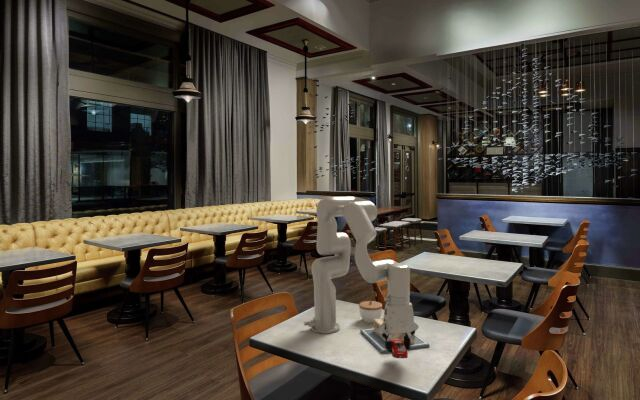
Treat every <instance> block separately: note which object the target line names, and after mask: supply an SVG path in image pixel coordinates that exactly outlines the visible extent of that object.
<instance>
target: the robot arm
mask: <svg viewBox="0 0 640 400" xmlns="http://www.w3.org/2000/svg"><path fill="white" fill-rule="evenodd" d="M377 216H378V209H377V206H376V205H375V203H374V202H372V201H371V200H368V199H365V198H361V197H357V196H352V195H351V196H350V195H347V196H346V195H345V196H343V195H342V196H338V195H337V196H327V197H323V198H322V199H320V200H319V202H318V203H317V205H316V220H317V230H316V232H317V233H316V246H315V247H316V251H317V254H318V255H321V256H323V257H319V258H316V259H315V260H314V261H312V263H311V273H312V274H311V275H312V279H313V296H314V297H313V301H314V303H313V305H314V308H313V309H314V310H313V311H314V317H312V319H310V320H305V321H303V326H308V327H309V328H310V329H311V331H312V332H314V333H316V334H333V333H337V332H338V331H339V330H340V328H341V326H340V323H337V300H336V299H337V298H336V297H337V296H336V294H337V290H336V286H335V284H334V282H333V281H332V279H334V278H341V277H343V276H346V275H347V274H348V272H349V270H350V261H351V251H352V250H351V249H352V243H351V238H350V237H349V234H347V233H346V232H342V231H338V223H337V220H336V218H337V217H344V219H345V222H346V223H347V225H348V227H349V229H350V231H351V234H352V235H353V238H354V239H355V246H354V262H355V265H356V266H357V270H358V272H359V273H360V275H361V277H362V278H363V279H364V280H365V282H367V283H369V284H376V283H381V282H387V295H386V296H385V297H383V301H384V302H386V303H385V306H384V311H383V323H382V324H381V326H380V327H379V328H378V329H377V331H378V332H379V333H380V334H381V335H382V336H383V337H384V338H385V348H386V349H387V350H388V351H389V352H392V341H391V337H392V335H393V334H402V333H405V336H404V345H405V347H406V349H407V351H411V350H410V339H411V338H412V336H413V334H414V333H415V334H416V331H417V330H418V329H419V328H420V326H419V325H418V324H417V323H416V322H415V317H414V314H415V313H414V308H413V304H412V302H410V296H411V293H410V291H411V287H410V286H411V269H410V268H411V267H410V266H409V265H408V264H405V263H400V262H397V261H395V260H393V259H390V258H387V259H379V260H373V261H372V259H371V258H370V255H369V253H368V248H367V247H368V244H370V242H372V241H373V240H374V239H375V238H376V236H377V230H376V228H375V226H374V225H373V223H372V222H373V221H374V220H376V219H377V218H378V217H377ZM337 231H338V232H337ZM384 329H385V330H386V333H384V332H383V330H384Z"/></svg>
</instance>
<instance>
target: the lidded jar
mask: <svg viewBox="0 0 640 400" xmlns="http://www.w3.org/2000/svg"><path fill="white" fill-rule="evenodd" d="M358 310H359V314H360V317H361V318H362V320H363V321H364V322H365V323H368V324H373V319H381V316H382V314H383V304H382V303H381V302H379V301H375V300H365V301H361V302H360V303H359V309H358Z"/></svg>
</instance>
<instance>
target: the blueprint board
mask: <svg viewBox="0 0 640 400" xmlns="http://www.w3.org/2000/svg"><path fill="white" fill-rule="evenodd" d="M383 318H384V317H383ZM383 318H381V317H380V319H373V323H372V324H373V325H372V326H373V328H369V329H360V331H359V332H360V334H362V336H364V338H365V339H366V340H367V341H369V342H370V343H371V344H372V345H373V346H374V347H375V348H376V349H377V350H378V351H379V352H380V353H381V354H382V355H383V354H390V353H391V352H389V351H388V350H387V349H386V348H385V338H384V337H383V336H382V335H381V334H380V333H379V332H378V331H377V329H378V328H379V327H380V326H381V324H382V323H383ZM383 332H384V333H386V330H385V329H384V330H383ZM404 336H405V333H402V334H393V335H392V337H391V339H392V338H397V339H401V340H402V341H404ZM403 343H404V342H403ZM429 347H430V343H428V342H427V341H426V340H424V339H423V338H421V337H420V336H419V335H417V334H416V332H415V333H414V334H413V336H412V338H411V339H410V350H409V351H412V350H417V349H424V348H429ZM391 354H392V353H391Z"/></svg>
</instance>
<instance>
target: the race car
mask: <svg viewBox="0 0 640 400" xmlns="http://www.w3.org/2000/svg"><path fill="white" fill-rule="evenodd" d="M391 341H392V352H391V356H392V357H393V358H394V359H407V358H408V350H407V349H406V347H405V345H404V343H403V342H404V341H402V340H401V339H397V338H392V339H391Z"/></svg>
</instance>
